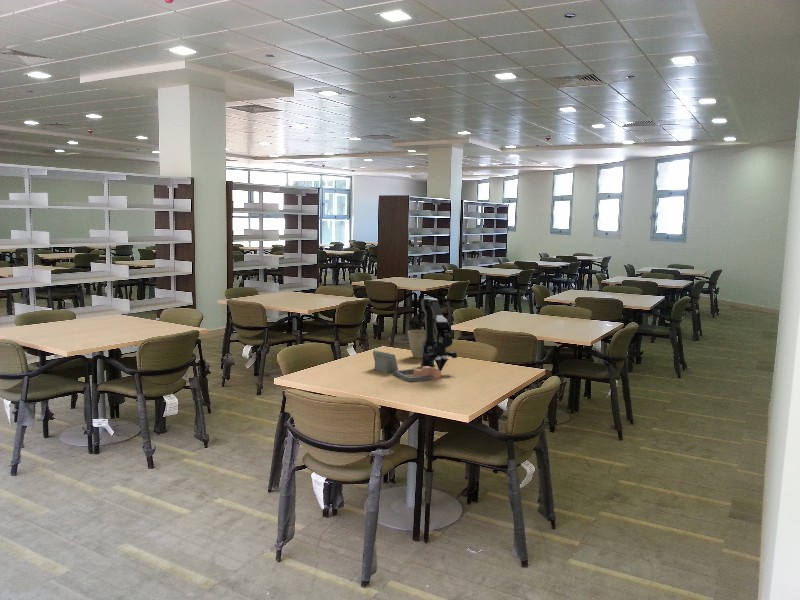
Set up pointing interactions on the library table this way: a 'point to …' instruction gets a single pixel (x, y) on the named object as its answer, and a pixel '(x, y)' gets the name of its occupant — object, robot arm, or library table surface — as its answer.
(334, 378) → the library table surface
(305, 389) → the library table surface
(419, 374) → the t block
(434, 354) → the robot arm
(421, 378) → the fence
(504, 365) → the library table surface
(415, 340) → the plant pot
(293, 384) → the library table surface
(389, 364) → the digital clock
